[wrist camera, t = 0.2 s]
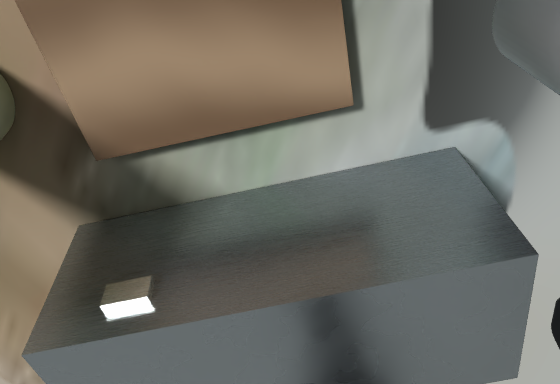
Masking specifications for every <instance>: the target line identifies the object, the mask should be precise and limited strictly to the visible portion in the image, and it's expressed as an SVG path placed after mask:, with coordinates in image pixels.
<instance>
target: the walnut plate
mask: <svg viewBox="0 0 560 384" xmlns="http://www.w3.org/2000/svg"><path fill="white" fill-rule="evenodd" d="M15 2H16V4H17V6H18V8H19V10H20V12H21V14H22V16H23V18H24V20H25V22H26V24H27V26H28V27H29V29H30V31H31V33H32V35H33V37H34V39H35V41H36V43H37V45H38V47H39V49H40V51H41V53H42V55H43V57H44V59H45V61H46V63H47V65H48V67H49V69H50V71H51V73H52V75H53V77H54V79H55V81H56V83H57V85H58V87H59V88H60V90H61V92H62V94H63V96H64V98H65V100H66V102H67V104H68V106H69V108H70V110H71V112H72V114H73V116H74V118H75V120H76V122H77V124H78V126H79V128H80V130H81V132H82V134H83V136H84V138H85V140H86V142H87V144H88V146H89V148H90V149H91V151H92V153H93V155H94V157H95V159H96V161H99V160H103V159H108V158H112V157H117V156H122V155H126V154H131V153H136V152H140V151H145V150H149V149H154V148H159V147H163V146H168V145H172V144H177V143H182V142H186V141H191V140H196V139H200V138H205V137H209V136H214V135H219V134H223V133H228V132H233V131H237V130H242V129H246V128H251V127H256V126H260V125H265V124H269V123H274V122H279V121H283V120H288V119H293V118H297V117H302V116H306V115H311V114H316V113H320V112H325V111H329V110H334V109H339V108H343V107H348V106H353V96H352V88H351V79H350V71H349V62H348V54H347V45H346V36H345V28H344V19H343V11H342V2H341V0H15Z"/></svg>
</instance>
